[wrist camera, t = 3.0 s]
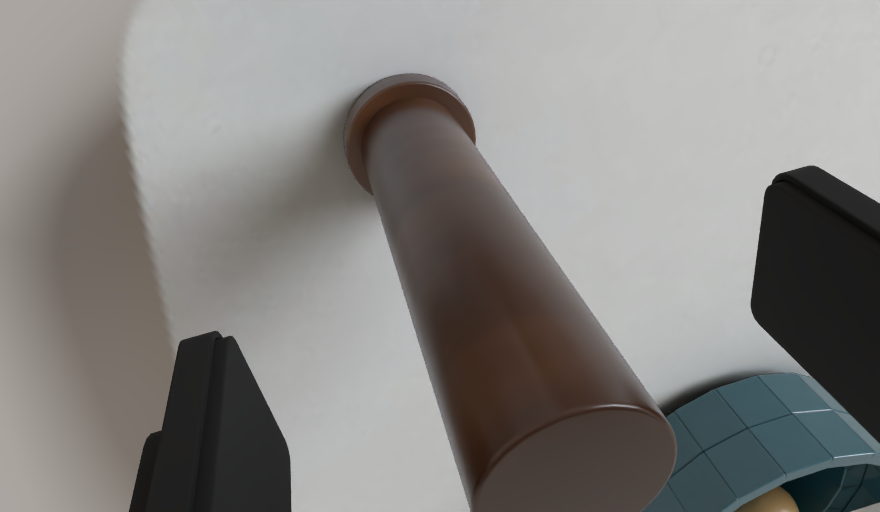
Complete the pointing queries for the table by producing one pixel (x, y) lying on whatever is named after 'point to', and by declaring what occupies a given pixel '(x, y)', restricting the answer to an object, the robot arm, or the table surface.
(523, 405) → the brown flanged cylinder
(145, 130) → the table surface
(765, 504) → the bead
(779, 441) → the bowl
